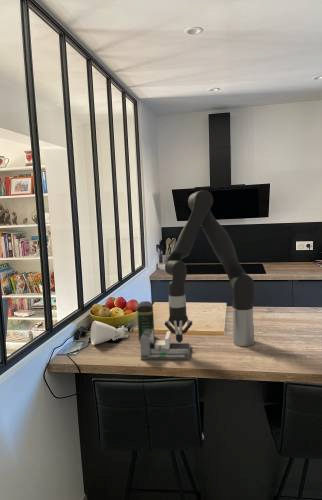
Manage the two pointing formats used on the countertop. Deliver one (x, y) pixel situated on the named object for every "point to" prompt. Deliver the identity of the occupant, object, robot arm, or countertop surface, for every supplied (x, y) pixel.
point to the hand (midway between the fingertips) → (179, 341)
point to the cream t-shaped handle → (164, 342)
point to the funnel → (105, 332)
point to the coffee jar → (145, 317)
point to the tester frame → (173, 353)
